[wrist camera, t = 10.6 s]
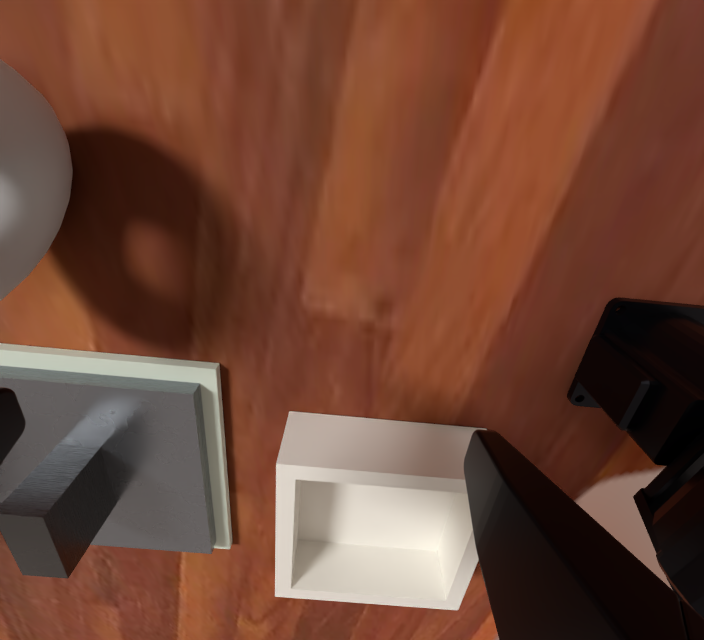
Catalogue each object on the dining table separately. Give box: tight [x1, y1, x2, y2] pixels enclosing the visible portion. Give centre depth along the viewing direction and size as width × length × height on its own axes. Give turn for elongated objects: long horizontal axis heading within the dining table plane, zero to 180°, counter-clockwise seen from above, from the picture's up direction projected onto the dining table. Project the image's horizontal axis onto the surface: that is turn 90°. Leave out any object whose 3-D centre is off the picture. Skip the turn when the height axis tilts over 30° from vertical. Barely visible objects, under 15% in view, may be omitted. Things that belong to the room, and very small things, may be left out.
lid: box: [0, 366, 216, 578], centre depth 22 cm, size 14×14×6 cm
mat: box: [0, 343, 232, 549], centre depth 24 cm, size 16×16×1 cm
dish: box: [275, 411, 487, 610], centre depth 24 cm, size 12×12×4 cm
